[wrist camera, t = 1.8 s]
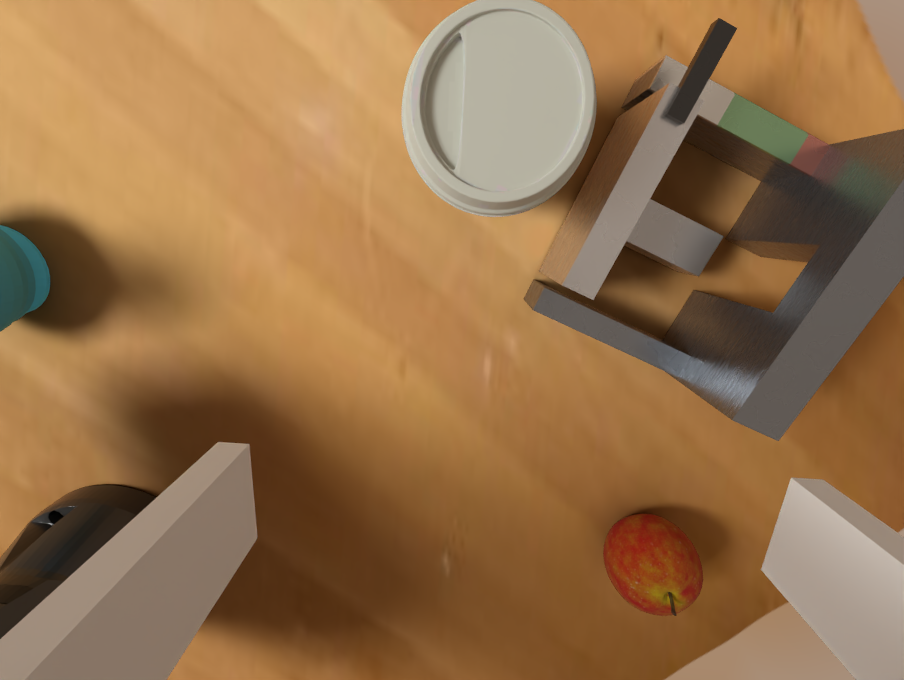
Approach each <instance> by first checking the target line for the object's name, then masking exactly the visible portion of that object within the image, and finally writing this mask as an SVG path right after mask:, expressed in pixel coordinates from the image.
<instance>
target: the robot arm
mask: <svg viewBox="0 0 904 680" xmlns="http://www.w3.org/2000/svg"><path fill="white" fill-rule="evenodd" d="M257 538H258V537H257V525H256V514H255V502H254V491H253V479H252V468H251V456H250V445H249V444H242V443H226V442H217V443H216V444H215V445H214V446H213V447H212V448H211V449H210V450H209V451H208V452H206V453H205V454H204V455H203V456H202V457H201V458H200V459H199V460H198V461H196V462H195V463H194V464H193V465H192V466H191V467H190V468H189V469H188V470H187V471H185V472H184V473H183V474H182V475H181V476H180V477H179V478H178V479H177V480H175V481H174V482H173V483H172V484H171V485H170V486H169V487H168V488H167V489H166V490H164V491H163V492H162V493H161V494H160V495H159V496H158V497H157V498H156V497H154V496H152V495H150V494H147V493H145V492H142V491H139V490H136V489H132V488H128V487H123V486H115V485H95V486H89V487H84V488H80V489H77V490H74V491H72V492H70V493H68V494H66V495H64V496H63V497H62V498H60V499H59V500H57V501H56V502H54V503H53V504H51V505H50V506H49V507H47V508H46V509H44V510H43V511H41V512H40V513H39V514H38V515H36V516H35V517H34V518H33V519H32V520H31V521H30V522H29V523H28V524H27V525H26V527H25V528H24V529H23V530H22V532H21V533H20V534H19V535H18V537H17V538H16V539H15V540H14V542H13V543H12V544H11V545H10V546H9V548H8V549H7V550H6V551H5V553H4V554H3V555H2V556H1V558H0V680H166V679H167V678H168V676H169V675H170V673H171V672H172V670H173V669H174V667H175V666H176V664H177V662H178V661H179V659H180V658H181V656H182V655H183V653H184V652H185V650H186V648H187V647H188V645H189V644H190V642H191V641H192V639H193V638H194V636H195V634H196V633H197V631H198V630H199V628H200V627H201V625H202V624H203V622H204V620H205V619H206V617H207V616H208V614H209V613H210V611H211V610H212V608H213V606H214V605H215V603H216V602H217V600H218V599H219V597H220V596H221V594H222V592H223V591H224V589H225V588H226V586H227V585H228V583H229V582H230V580H231V579H232V577H233V575H234V574H235V572H236V571H237V569H238V568H239V566H240V565H241V563H242V561H243V560H244V558H245V557H246V555H247V554H248V552H249V551H250V549H251V547H252V546H253V544H254V543H255V541H256V540H257ZM761 570H762V571H763V573H764V574H765V575H766V576H767V577H768V578H769V580H770V581H771V582H772V583H773V584H774V585H775V587H776V588H777V589H778V590H779V591H780V592H781V593H782V595H783V596H784V597H785V598H786V599H787V600H788V602H789V603H790V604H791V605H792V606H793V607H794V609H795V610H796V611H797V612H798V613H799V614H800V616H802V618H803V619H804V620H805V621H806V623H807V624H808V625H809V626H810V627H811V628H812V629H813V631H814V632H815V633H816V634H817V635H818V636H819V638H820V639H821V640H822V641H823V642H824V643H825V644H826V646H827V647H828V648H829V649H830V650H831V651H832V653H833V654H834V655H835V656H836V657H837V658H838V660H839V661H840V662H841V663H842V664H843V665H844V667H845V668H846V669H847V670H848V671H849V672H850V674H851V675H852V676H853V677H854V678H855V679H856V680H904V537H903V536H901V535H900V534H899V533H897V532H896V531H894V530H893V529H892V528H890V527H889V526H887V525H886V524H885V523H883V522H882V521H880V520H879V519H877V518H876V517H875V516H873V515H872V514H870V513H869V512H868V511H866V510H865V509H863V508H862V507H861V506H859V505H858V504H856V503H855V502H854V501H852V500H851V499H849V498H848V497H847V496H845V495H844V494H842V493H841V492H840V491H838V490H837V489H835V488H834V487H833V486H831V485H830V484H828V483H827V482H826V481H824V480H821V479H805V478H791V480H790V483H789V486H788V489H787V492H786V495H785V498H784V501H783V504H782V507H781V510H780V513H779V517H778V520H777V523H776V526H775V529H774V532H773V535H772V538H771V541H770V544H769V547H768V550H767V553H766V556H765V560H764V563H763V566H762V569H761Z"/></svg>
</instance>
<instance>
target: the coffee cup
mask: <svg viewBox="0 0 904 680" xmlns="http://www.w3.org/2000/svg"><path fill="white" fill-rule="evenodd" d="M596 107H597V98H596V86H595V80H594V75H593V72H592V68H591V64H590V61H589V58H588V55H587V52H586V50H585V48H584V46H583V44H582V42H581V41H580V39H579V37H578V36H577V34H576V33H575V31H574V30H573V29H572V28H571V26H570V25H569V24H568V23H567V22H566V21H565V20H564V19H563V18H562V17H561V16H560V15H558V14H557V13H556V12H554V11H553V10H552V9H550V8H548V7H547V6H545V5H543V4H541V3H539V2H536V1H533V0H477V1H475V2H472V3H470V4H468V5H466V6H464V7H462V8H460V9H459V10H457V11H456V12H454V13H452V14H451V15H450V16H448V17H447V18H445V19H444V20H443V21H442V22H441V23H440V24H439V25H437V26H436V27H435V28H434V29H433V31H432V32H431V33H430V34H429V35H428V36H427V38H426V39H425V40H424V42H423V43H422V45H421V46H420V48H419V50H418V51H417V53H416V55H415V57H414V59H413V61H412V64H411V66H410V69H409V72H408V75H407V78H406V82H405V87H404V93H403V99H402V128H403V134H404V139H405V143H406V147H407V150H408V153H409V155H410V158H411V160H412V162H413V164H414V166H415V168H416V170H417V172H418V173H419V175H420V176H421V178H422V179H423V180H424V182H425V183H426V184H427V185H428V187H429V188H430V189H431V190H432V191H433V192H434V193H435V194H437V195H438V196H439V197H440V198H441V199H443V200H444V201H446V202H447V203H449V204H450V205H452V206H454V207H456V208H458V209H460V210H462V211H465V212H468V213H471V214H475V215H480V216H487V217H503V216H510V215H515V214H519V213H522V212H525V211H528V210H530V209H532V208H535V207H536V206H538V205H540V204H542V203H543V202H545V201H547V200H548V199H549V198H551V197H552V196H553V195H554V194H556V193H557V192H558V191H559V190H560V189H561V188H562V187H563V186H564V185H565V184H566V183H567V182H568V180H569V179H570V178H571V176H572V175H573V174H574V172H575V171H576V169H577V168H578V166H579V164H580V162H581V161H582V159H583V157H584V155H585V153H586V150H587V148H588V145H589V143H590V140H591V137H592V133H593V129H594V124H595V118H596Z"/></svg>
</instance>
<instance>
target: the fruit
mask: <svg viewBox="0 0 904 680" xmlns="http://www.w3.org/2000/svg"><path fill="white" fill-rule="evenodd" d="M603 555H604V563H605V567H606V570H607V573H608V576H609V578H610V580H611V582H612V583H613V585H614V587H615V588H616V590H617V591H618V592H619V594H620V595H621V596H622V597H623V598H624V599H625V600H626V601H627V602H628V603H630V604H631V605H632V606H634V607H635V608H637V609H639V610H641V611H644V612H646V613H650V614H654V615H661V616H668V615H675V616H676V614H677V613H679V612H681V611H683V610H684V609H686V608H687V607H688V606H690V605H691V604H692V603H693V602H694V601H695V600H696V598H697V597H698V595H699V594H700V591H701V588H702V583H703V573H702V566H701V562H700V559H699V556H698V554H697V552H696V550H695V548H694V546H693V544H692V542H691V541H690V540H689V538H688V537H687V536H686V535H685V533H684V532H683V531H681V530H680V529H679V528H678V527H677V526H676V525H674V524H673V523H671V522H670V521H668V520H667V519H664V518H662V517H660V516H657V515H653V514H636V515H631V516H628V517H626V518H623V519H621V520H620V521H618V522H617V523H616V524H614V526H613V527H612V528H611V529H610V531H609V533H608V535H607V537H606V540H605V544H604V553H603Z"/></svg>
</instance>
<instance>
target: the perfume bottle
mask: <svg viewBox="0 0 904 680" xmlns="http://www.w3.org/2000/svg"><path fill="white" fill-rule="evenodd" d="M49 289H50V274H49V269H48V266H47V264H46V261H45V259H44V257H43V256H42V254H41V252H40V251H39V250H38V249H37V247H36V246H35V245H34V244H33V243H32V242H31V241H30V240H29V239H28V238H27V237H25V236H24V235H22V234H21V233H19V232H18V231H16V230H14V229H11V228H9V227H6V226H2V225H0V331H2V330H3V329H5V328H6V327H8V326H9V325H11V323H12V322H14V321H16V320H18V319H20V318H21V317H22V316H24V315H25V314H26V313H28V312H31V311H33V310H35V309H37V308H38V307H40V306H41V305H42V304H43V302H44V301H45V300H46V298H47V296H48V294H49Z"/></svg>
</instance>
